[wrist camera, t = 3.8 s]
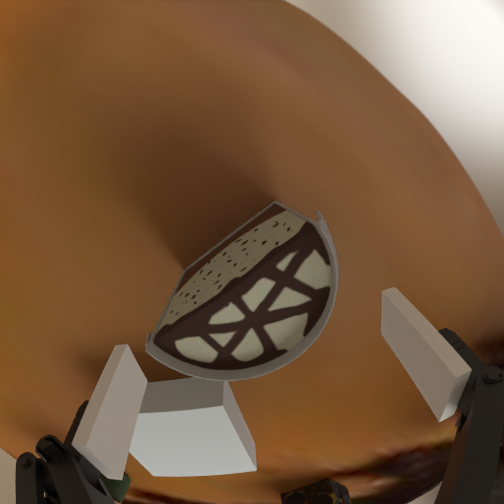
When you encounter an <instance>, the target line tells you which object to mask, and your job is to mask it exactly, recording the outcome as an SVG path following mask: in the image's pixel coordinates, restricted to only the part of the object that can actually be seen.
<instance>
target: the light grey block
mask: <svg viewBox="0 0 504 504" xmlns="http://www.w3.org/2000/svg"><path fill="white" fill-rule="evenodd" d="M129 452H130V453H131V454H132V455H133V456H134V457H135V458H136V459H137V460H138V461H139V462H140V463H141V464H142V465H143V466H144V467H145V468H146V469H147V470H148V471H149V472H150V473H151V474H152V475H153V476H207V475H221V474H232V473H242V472H250V471H257V465H256V452H255V442H254V440H253V438H252V436H251V433H250V431H249V429H248V427H247V425H246V422H245V420H244V418H243V416H242V414H241V411H240V409H239V407H238V404H237V402H236V400H235V397H234V395H233V393H232V390H231V388H230V386H229V383H228V381H213V380H207V379H201V378H196V377H191V378H184V379H176V380H168V381H159V382H149V383H147V386H146V389H145V393H144V396H143V400H142V403H141V407H140V411H139V414H138V418H137V422H136V425H135V429H134V433H133V437H132V441H131V445H130V449H129Z"/></svg>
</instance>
